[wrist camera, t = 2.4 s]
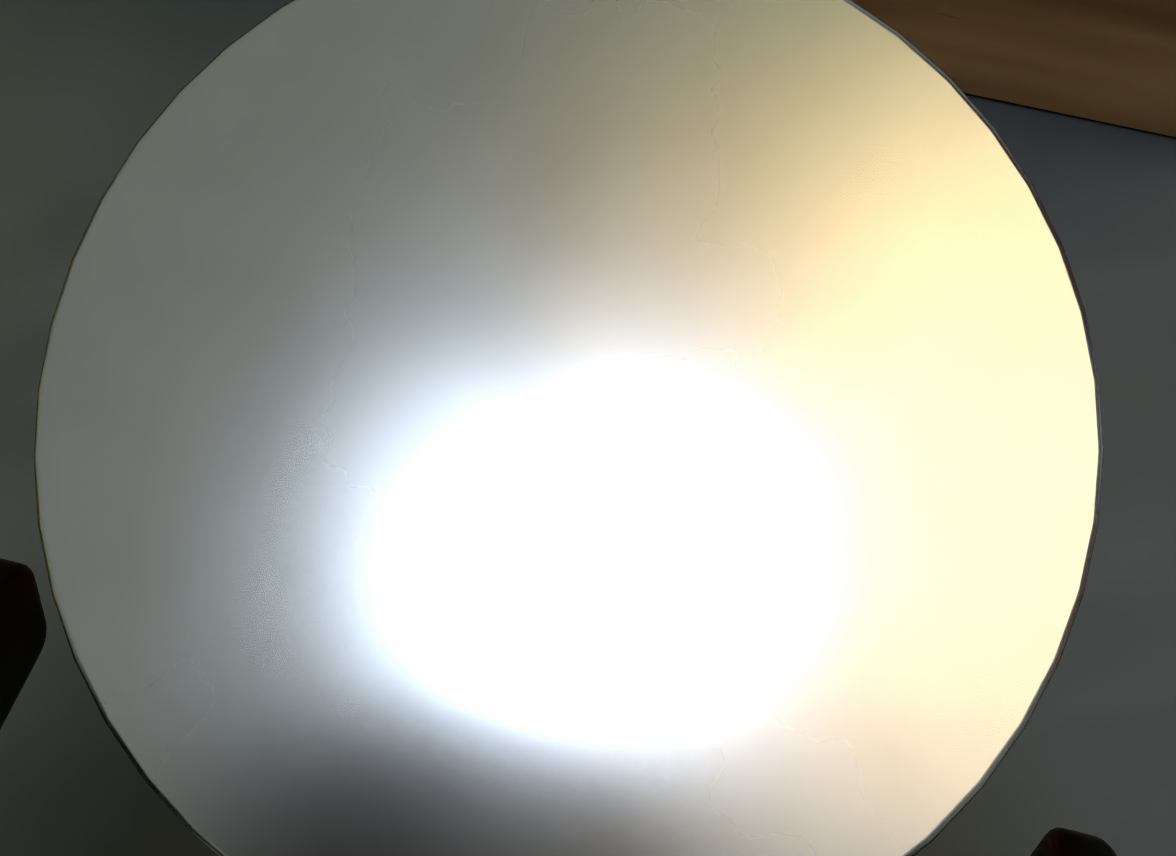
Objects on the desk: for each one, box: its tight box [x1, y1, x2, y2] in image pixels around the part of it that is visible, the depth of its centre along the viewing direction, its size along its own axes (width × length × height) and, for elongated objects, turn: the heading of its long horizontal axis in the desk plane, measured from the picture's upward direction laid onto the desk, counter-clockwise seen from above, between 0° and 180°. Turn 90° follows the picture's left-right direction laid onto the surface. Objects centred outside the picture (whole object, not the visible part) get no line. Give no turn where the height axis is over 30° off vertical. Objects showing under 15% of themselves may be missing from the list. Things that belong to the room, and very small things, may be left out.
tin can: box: [34, 0, 1104, 856], centre depth 13 cm, size 7×7×13 cm
